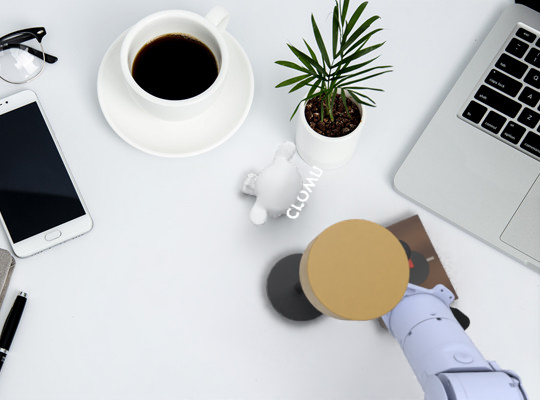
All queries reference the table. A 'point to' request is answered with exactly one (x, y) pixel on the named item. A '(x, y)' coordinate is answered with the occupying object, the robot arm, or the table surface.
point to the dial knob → (418, 268)
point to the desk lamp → (342, 274)
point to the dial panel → (421, 252)
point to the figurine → (277, 187)
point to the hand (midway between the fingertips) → (392, 276)
